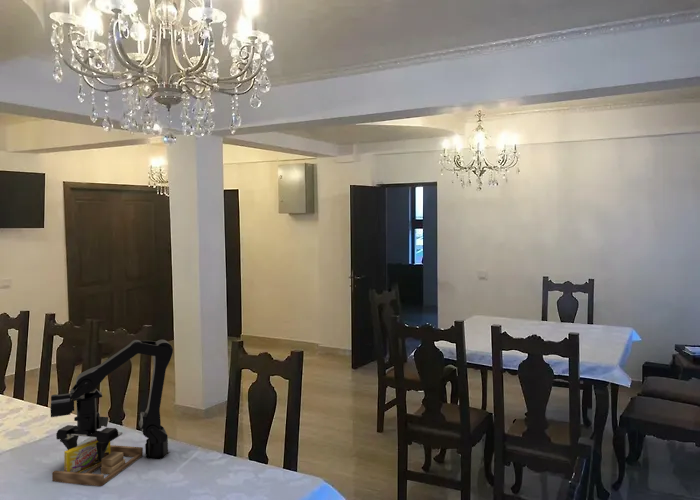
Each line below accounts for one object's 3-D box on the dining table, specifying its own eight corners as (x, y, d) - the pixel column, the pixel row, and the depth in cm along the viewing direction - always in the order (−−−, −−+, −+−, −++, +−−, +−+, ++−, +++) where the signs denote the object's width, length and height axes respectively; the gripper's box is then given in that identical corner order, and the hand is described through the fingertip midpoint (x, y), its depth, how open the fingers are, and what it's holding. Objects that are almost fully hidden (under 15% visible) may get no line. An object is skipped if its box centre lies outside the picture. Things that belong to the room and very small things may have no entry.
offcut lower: (125, 466, 182) (125, 459, 182) (112, 476, 175) (112, 468, 175) (114, 465, 183) (114, 458, 183) (101, 475, 176) (100, 467, 176)
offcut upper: (123, 459, 182) (123, 452, 181) (111, 467, 176) (111, 459, 176) (113, 459, 182) (113, 451, 182) (101, 466, 177) (101, 458, 176)
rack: (142, 456, 190) (142, 447, 189) (101, 486, 168) (101, 476, 168) (98, 452, 193) (98, 444, 193) (52, 482, 171) (52, 472, 171)
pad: (122, 433, 211) (122, 432, 211) (91, 452, 193) (91, 450, 193) (100, 432, 212) (100, 430, 212) (68, 451, 195) (68, 449, 195)
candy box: (68, 478, 173) (67, 452, 173) (63, 477, 174) (62, 451, 174) (111, 459, 188) (110, 434, 187) (106, 458, 189) (106, 433, 188)
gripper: (127, 405, 186) (128, 451, 187) (77, 402, 190) (78, 448, 191) (106, 416, 176) (108, 465, 176) (54, 413, 179) (55, 461, 180)
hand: (88, 459), depth 181 cm, fingers open, 9 cm apart
